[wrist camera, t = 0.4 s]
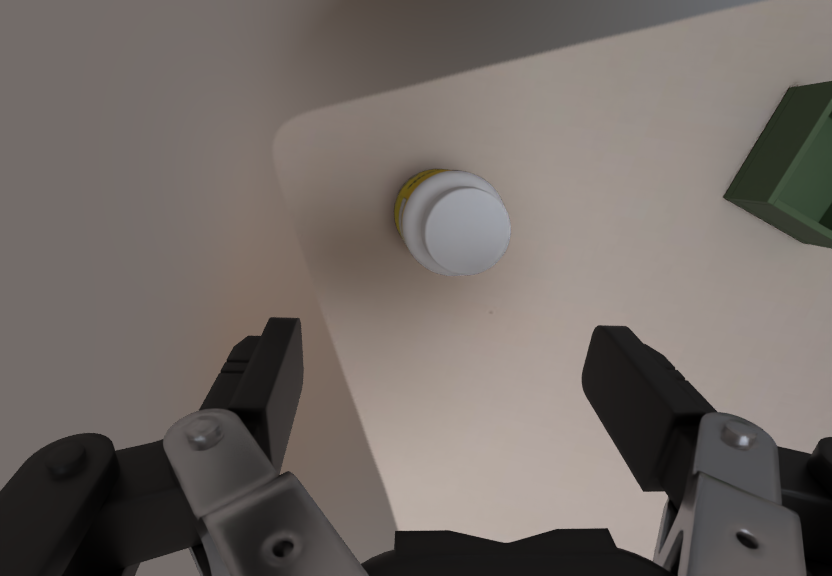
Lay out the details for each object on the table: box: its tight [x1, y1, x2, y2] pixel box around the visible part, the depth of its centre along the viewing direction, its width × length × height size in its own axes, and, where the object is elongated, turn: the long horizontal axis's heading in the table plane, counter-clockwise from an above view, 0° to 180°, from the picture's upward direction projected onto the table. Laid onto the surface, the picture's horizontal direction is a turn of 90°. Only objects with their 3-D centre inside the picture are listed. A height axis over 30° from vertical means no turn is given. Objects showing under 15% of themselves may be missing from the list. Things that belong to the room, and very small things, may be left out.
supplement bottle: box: [394, 169, 511, 276], centre depth 25 cm, size 5×5×10 cm
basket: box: [724, 81, 832, 248], centre depth 31 cm, size 8×8×4 cm
